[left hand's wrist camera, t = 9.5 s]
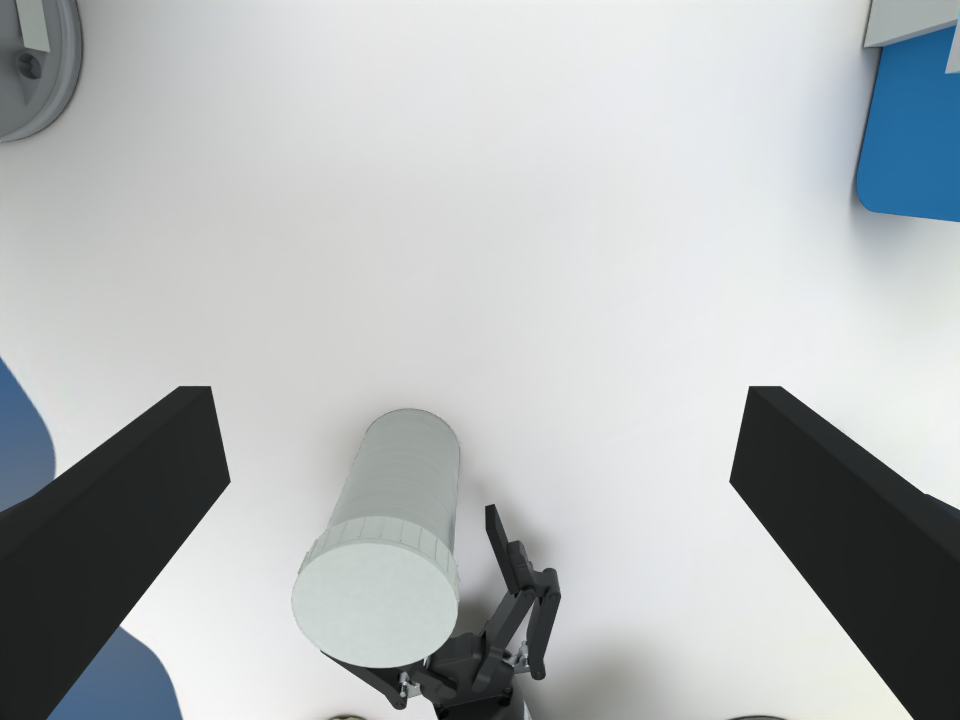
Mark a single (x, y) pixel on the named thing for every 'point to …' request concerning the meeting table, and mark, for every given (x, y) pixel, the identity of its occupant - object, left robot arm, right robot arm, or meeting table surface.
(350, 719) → the flower pot
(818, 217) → the meeting table surface
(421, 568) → the lid
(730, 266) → the meeting table surface
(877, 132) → the logo
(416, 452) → the jar
